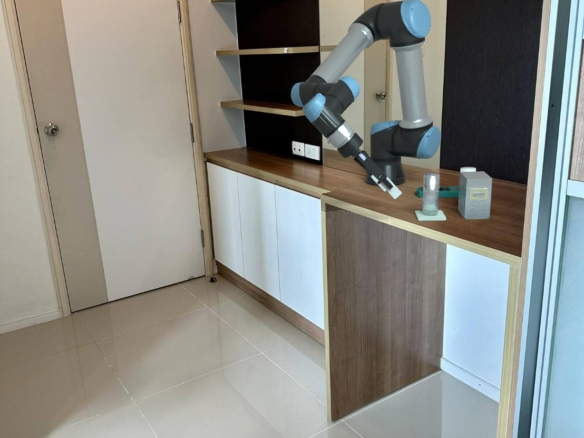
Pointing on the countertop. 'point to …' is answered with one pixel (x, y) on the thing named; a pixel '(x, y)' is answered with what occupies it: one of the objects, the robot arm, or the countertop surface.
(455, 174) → the countertop surface
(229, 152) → the countertop surface
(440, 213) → the pad
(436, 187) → the clear drinking glass
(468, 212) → the box
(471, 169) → the cream canister
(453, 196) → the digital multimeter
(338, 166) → the countertop surface
